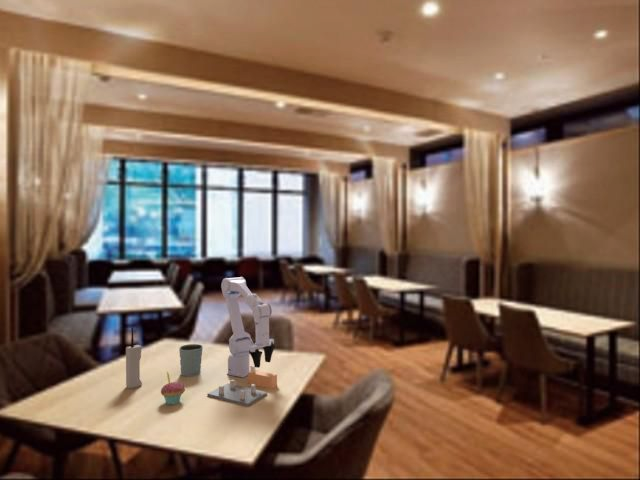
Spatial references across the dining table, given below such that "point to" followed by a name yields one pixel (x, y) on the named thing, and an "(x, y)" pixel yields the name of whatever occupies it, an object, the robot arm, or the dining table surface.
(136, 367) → the vintage mobile phone
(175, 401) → the cupcake
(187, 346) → the drinking glass
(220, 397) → the grey pegged plate
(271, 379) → the long tan brick
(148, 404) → the dining table surface
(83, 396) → the dining table surface
